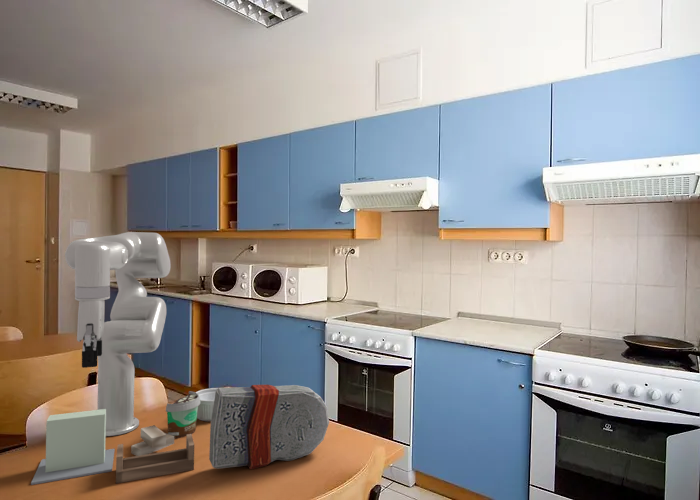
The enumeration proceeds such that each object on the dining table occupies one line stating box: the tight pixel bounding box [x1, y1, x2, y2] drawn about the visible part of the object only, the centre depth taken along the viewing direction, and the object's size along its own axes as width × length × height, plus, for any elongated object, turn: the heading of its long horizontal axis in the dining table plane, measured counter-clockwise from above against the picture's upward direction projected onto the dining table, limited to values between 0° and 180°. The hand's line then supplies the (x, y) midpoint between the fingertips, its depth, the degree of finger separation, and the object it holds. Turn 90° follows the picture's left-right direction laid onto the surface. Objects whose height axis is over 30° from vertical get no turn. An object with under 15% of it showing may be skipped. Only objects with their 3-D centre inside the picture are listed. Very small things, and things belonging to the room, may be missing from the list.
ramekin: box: [195, 387, 219, 422], centre depth 144 cm, size 13×13×7 cm
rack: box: [115, 434, 195, 484], centre depth 108 cm, size 7×17×6 cm, turn 115°
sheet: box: [45, 409, 107, 472], centre depth 109 cm, size 4×12×12 cm, turn 115°
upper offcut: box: [140, 424, 166, 448], centre depth 120 cm, size 4×8×2 cm, turn 43°
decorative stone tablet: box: [208, 384, 330, 470], centre depth 114 cm, size 19×6×30 cm
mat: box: [30, 448, 116, 486], centre depth 109 cm, size 12×16×1 cm
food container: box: [165, 390, 201, 439], centre depth 130 cm, size 12×6×10 cm, turn 168°
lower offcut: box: [130, 432, 175, 456], centre depth 120 cm, size 4×10×2 cm, turn 148°
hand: (92, 361), depth 112 cm, fingers open, 9 cm apart
